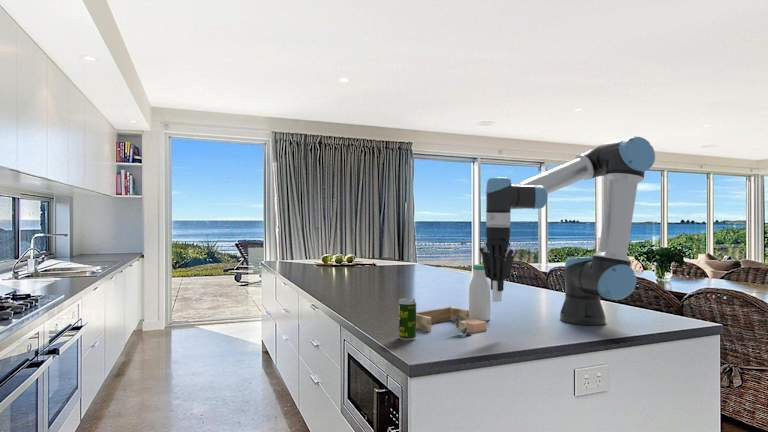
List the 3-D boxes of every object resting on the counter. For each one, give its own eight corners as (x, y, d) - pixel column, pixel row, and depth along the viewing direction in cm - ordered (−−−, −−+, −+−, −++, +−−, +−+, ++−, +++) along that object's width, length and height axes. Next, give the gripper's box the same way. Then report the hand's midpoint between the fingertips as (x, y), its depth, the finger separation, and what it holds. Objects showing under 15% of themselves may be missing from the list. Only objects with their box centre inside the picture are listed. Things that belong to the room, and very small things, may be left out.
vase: (448, 334, 147) (449, 315, 148) (459, 333, 151) (460, 314, 151) (461, 337, 143) (462, 318, 144) (472, 336, 147) (473, 317, 147)
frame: (469, 323, 163) (469, 310, 163) (428, 331, 151) (428, 318, 151) (450, 318, 170) (450, 306, 170) (409, 326, 158) (409, 313, 158)
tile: (486, 330, 153) (486, 321, 153) (474, 333, 150) (474, 324, 150) (473, 327, 158) (473, 318, 158) (460, 330, 155) (460, 321, 155)
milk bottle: (490, 322, 165) (490, 266, 165) (468, 321, 167) (468, 265, 167) (490, 317, 173) (490, 264, 173) (469, 316, 174) (469, 263, 174)
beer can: (405, 335, 146) (405, 297, 146) (419, 338, 143) (419, 299, 143) (395, 338, 142) (395, 299, 142) (409, 341, 138) (409, 301, 139)
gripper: (474, 226, 149) (473, 299, 149) (508, 227, 139) (506, 305, 139) (489, 226, 154) (488, 297, 154) (522, 227, 144) (521, 303, 143)
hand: (496, 301), depth 146 cm, fingers closed
